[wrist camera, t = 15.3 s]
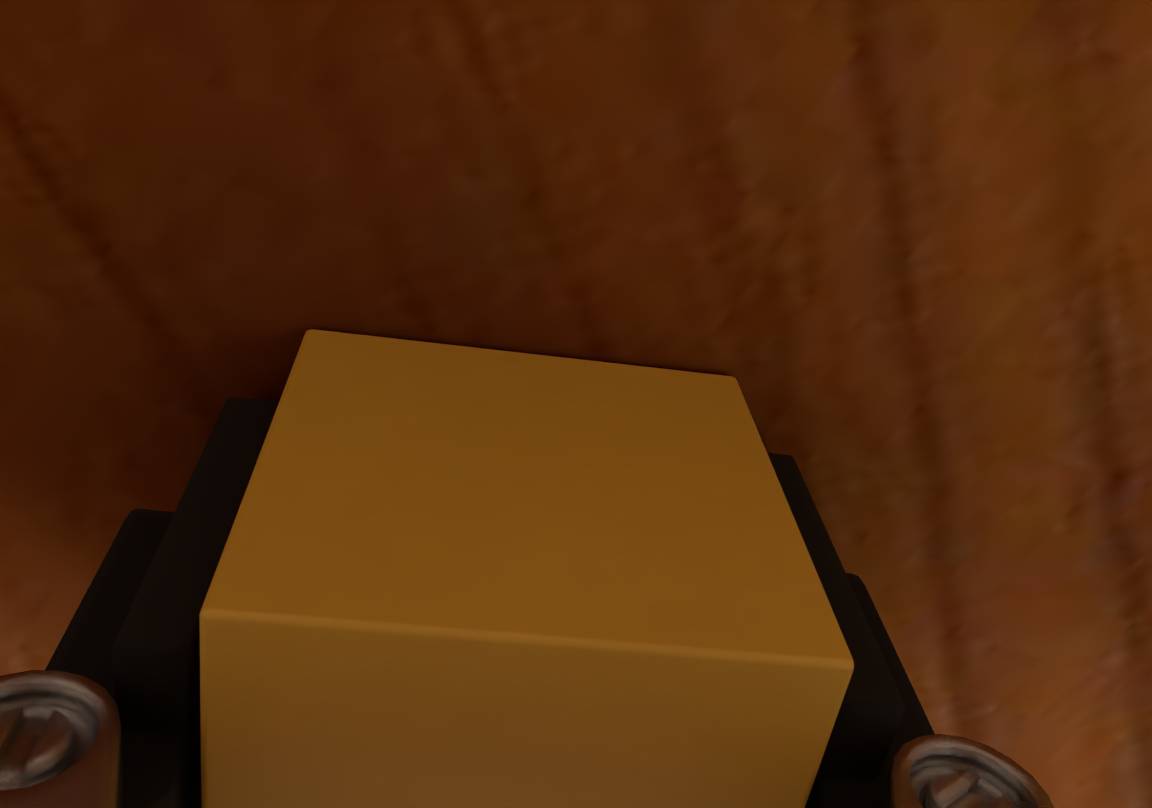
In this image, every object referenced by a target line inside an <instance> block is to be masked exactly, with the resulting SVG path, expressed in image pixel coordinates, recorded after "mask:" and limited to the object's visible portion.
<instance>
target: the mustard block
mask: <svg viewBox="0 0 1152 808" xmlns="http://www.w3.org/2000/svg"><path fill="white" fill-rule="evenodd" d="M199 621H200V726H201V808H805V805H806V802H807V800H808V797H809V794H810V791H811V788H812V786H813V783H814V780H815V777H816V774H817V771H818V769H819V766H820V763H821V760H822V757H823V755H824V752H825V749H826V746H827V743H828V740H829V738H830V735H831V732H832V729H833V726H834V724H835V721H836V718H837V715H838V712H839V709H840V707H841V704H842V701H843V698H844V695H845V693H846V690H847V687H848V684H849V681H850V678H851V676H852V673H853V670H854V661H853V658H852V656H851V654H850V651H849V649H848V646H847V644H846V641H845V639H844V637H843V634H842V632H841V629H840V627H839V625H838V622H837V620H836V617H835V615H834V613H833V610H832V608H831V605H830V603H829V601H828V598H827V596H826V593H825V591H824V589H823V586H822V584H821V581H820V579H819V577H818V574H817V572H816V569H815V567H814V565H813V562H812V560H811V557H810V555H809V553H808V550H807V548H806V545H805V543H804V541H803V538H802V536H801V533H800V531H799V528H798V526H797V524H796V521H795V519H794V516H793V514H792V512H791V509H790V507H789V504H788V502H787V500H786V497H785V495H784V492H783V490H782V488H781V485H780V483H779V480H778V478H777V476H776V473H775V471H774V468H773V466H772V464H771V461H770V459H769V456H768V454H767V452H766V449H765V447H764V444H763V442H762V440H761V437H760V435H759V432H758V430H757V428H756V425H755V423H754V420H753V418H752V416H751V413H750V411H749V408H748V406H747V403H746V401H745V399H744V396H743V394H742V391H741V389H740V387H739V384H738V382H737V379H736V378H734V377H732V376H724V375H715V374H706V373H698V372H689V371H680V370H671V369H662V368H653V367H644V366H635V365H626V364H618V363H609V362H600V361H591V360H582V359H573V358H564V357H555V356H546V355H537V354H529V353H520V352H511V351H502V350H493V349H484V348H475V347H466V346H457V345H448V344H440V343H431V342H422V341H413V340H404V339H395V338H386V337H377V336H368V335H360V334H351V333H342V332H333V331H324V330H315V329H311V330H307V331H306V333H305V335H304V338H303V340H302V343H301V346H300V348H299V351H298V354H297V356H296V359H295V362H294V364H293V367H292V369H291V372H290V375H289V377H288V380H287V383H286V385H285V388H284V391H283V393H282V396H281V399H280V401H279V404H278V407H277V409H276V412H275V415H274V417H273V420H272V423H271V425H270V428H269V431H268V433H267V436H266V438H265V441H264V444H263V446H262V449H261V452H260V454H259V457H258V460H257V462H256V465H255V468H254V470H253V473H252V476H251V478H250V481H249V484H248V486H247V489H246V492H245V494H244V497H243V500H242V502H241V505H240V507H239V510H238V513H237V515H236V518H235V521H234V523H233V526H232V529H231V531H230V534H229V537H228V539H227V542H226V545H225V547H224V550H223V553H222V555H221V558H220V561H219V563H218V566H217V569H216V571H215V574H214V576H213V579H212V582H211V584H210V587H209V590H208V592H207V595H206V598H205V600H204V603H203V606H202V608H201V611H200V614H199Z"/></svg>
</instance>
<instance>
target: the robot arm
mask: <svg viewBox="0 0 1152 808" xmlns="http://www.w3.org/2000/svg"><path fill="white" fill-rule="evenodd" d="M278 404H279V402H272V401H263V400H253V399H244V398H234V397H229V398H228V400H227V401H226V404H225V406H224V408H223V410H222V412H221V414H220V416H219V419H218V421H217V423H216V425H215V427H214V429H213V431H212V434H211V436H210V438H209V440H208V442H207V444H206V446H205V449H204V451H203V453H202V455H201V457H200V459H199V461H198V464H197V466H196V468H195V470H194V472H193V474H192V476H191V479H190V481H189V483H188V485H187V487H186V489H185V491H184V494H183V496H182V498H181V500H180V502H179V504H178V506H177V509H176V511H175V512H166V511H155V510H144V509H135V510H133V511H131V512H130V513H129V515H128V516H127V518H126V519H125V521H124V523H123V525H122V526H121V528H120V530H119V532H118V534H117V536H116V538H115V540H114V541H113V543H112V545H111V547H110V549H109V551H108V553H107V555H106V556H105V558H104V560H103V562H102V564H101V566H100V568H99V570H98V572H97V573H96V575H95V577H94V579H93V581H92V583H91V585H90V587H89V588H88V590H87V592H86V594H85V596H84V598H83V600H82V602H81V603H80V605H79V607H78V609H77V611H76V613H75V615H74V617H73V619H72V620H71V622H70V624H69V626H68V628H67V630H66V632H65V634H64V635H63V637H62V639H61V641H60V643H59V645H58V647H57V649H56V650H55V652H54V654H53V656H52V658H51V660H50V662H49V664H48V666H47V667H46V669H45V670H31V671H25V672H19V673H14V674H8V675H2V676H0V808H201V726H200V621H199V614H200V611H201V608H202V606H203V603H204V600H205V598H206V595H207V592H208V590H209V587H210V584H211V582H212V579H213V576H214V574H215V571H216V569H217V566H218V563H219V561H220V558H221V555H222V553H223V550H224V547H225V545H226V542H227V539H228V537H229V534H230V531H231V529H232V526H233V523H234V521H235V518H236V515H237V513H238V510H239V507H240V505H241V502H242V500H243V497H244V494H245V492H246V489H247V486H248V484H249V481H250V478H251V476H252V473H253V470H254V468H255V465H256V462H257V460H258V457H259V454H260V452H261V449H262V446H263V444H264V441H265V438H266V436H267V433H268V431H269V428H270V425H271V423H272V420H273V417H274V415H275V412H276V409H277V407H278ZM767 454H768V456H769V459H770V461H771V464H772V466H773V468H774V471H775V473H776V476H777V478H778V480H779V483H780V485H781V488H782V490H783V492H784V495H785V497H786V500H787V502H788V504H789V507H790V509H791V512H792V514H793V516H794V519H795V521H796V524H797V526H798V528H799V531H800V533H801V536H802V538H803V541H804V543H805V545H806V548H807V550H808V553H809V555H810V557H811V560H812V562H813V565H814V567H815V569H816V572H817V574H818V577H819V579H820V581H821V584H822V586H823V589H824V591H825V593H826V596H827V598H828V601H829V603H830V605H831V608H832V610H833V613H834V615H835V617H836V620H837V622H838V625H839V627H840V629H841V632H842V634H843V637H844V639H845V641H846V644H847V646H848V649H849V651H850V654H851V656H852V658H853V661H854V670H853V673H852V676H851V678H850V681H849V684H848V687H847V690H846V693H845V695H844V698H843V701H842V704H841V707H840V709H839V712H838V715H837V718H836V721H835V724H834V726H833V729H832V732H831V735H830V738H829V740H828V743H827V746H826V749H825V752H824V755H823V757H822V760H821V763H820V766H819V769H818V771H817V774H816V777H815V780H814V783H813V786H812V788H811V791H810V794H809V797H808V800H807V802H806V805H805V808H1054V807H1053V805H1052V803H1051V801H1050V798H1049V796H1048V795H1047V793H1046V792H1045V791H1044V790H1043V789H1042V787H1041V786H1040V785H1039V784H1038V782H1037V781H1036V780H1035V779H1034V778H1033V776H1032V775H1030V774H1029V773H1028V772H1027V771H1025V770H1024V769H1023V768H1022V767H1021V766H1019V765H1018V764H1017V763H1016V762H1014V761H1013V760H1012V759H1011V758H1009V757H1007V756H1005V755H1003V754H1002V753H1000V752H998V751H996V750H994V749H993V748H991V747H989V746H987V745H984V744H981V743H978V742H976V741H973V740H970V739H967V738H964V737H958V736H951V735H943V734H936V735H935V734H934V732H933V730H932V727H931V725H930V723H929V721H928V719H927V717H926V715H925V712H924V710H923V708H922V706H921V704H920V702H919V700H918V698H917V695H916V693H915V691H914V689H913V687H912V685H911V683H910V681H909V678H908V676H907V674H906V672H905V670H904V668H903V666H902V664H901V661H900V659H899V657H898V655H897V653H896V651H895V649H894V646H893V644H892V642H891V640H890V638H889V636H888V634H887V632H886V629H885V627H884V625H883V623H882V621H881V619H880V617H879V615H878V612H877V610H876V608H875V606H874V604H873V602H872V600H871V598H870V595H869V593H868V591H867V589H866V587H865V585H864V584H863V582H862V581H861V579H860V578H859V577H858V576H856V575H854V574H851V573H845V571H844V568H843V566H842V564H841V562H840V560H839V557H838V555H837V553H836V551H835V549H834V546H833V544H832V542H831V540H830V537H829V535H828V533H827V531H826V529H825V526H824V524H823V522H822V520H821V518H820V515H819V513H818V511H817V509H816V507H815V504H814V502H813V500H812V498H811V495H810V493H809V491H808V489H807V487H806V484H805V482H804V480H803V478H802V476H801V473H800V471H799V469H798V467H797V464H796V462H795V460H794V459H793V457H792V456H790V455H782V454H773V453H767Z"/></svg>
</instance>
